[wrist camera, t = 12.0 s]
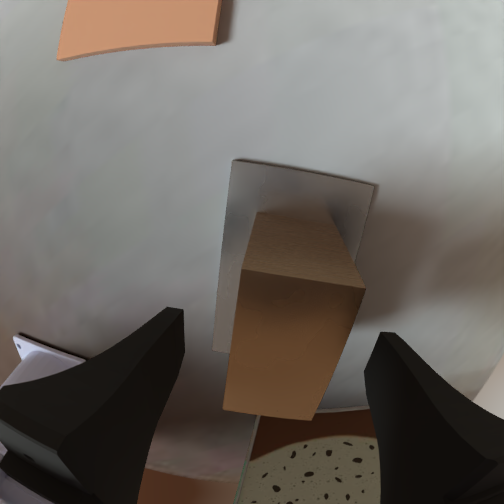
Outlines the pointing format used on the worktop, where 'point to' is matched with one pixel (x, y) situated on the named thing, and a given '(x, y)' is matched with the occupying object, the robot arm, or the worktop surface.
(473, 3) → the worktop surface
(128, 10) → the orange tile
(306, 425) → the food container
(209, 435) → the worktop surface
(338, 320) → the tan block on plate
